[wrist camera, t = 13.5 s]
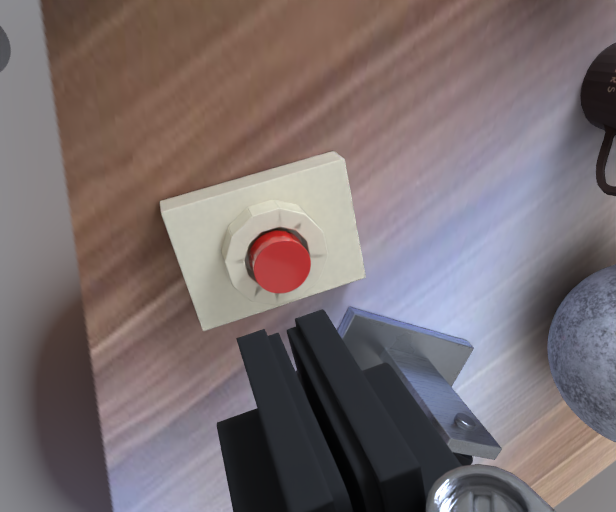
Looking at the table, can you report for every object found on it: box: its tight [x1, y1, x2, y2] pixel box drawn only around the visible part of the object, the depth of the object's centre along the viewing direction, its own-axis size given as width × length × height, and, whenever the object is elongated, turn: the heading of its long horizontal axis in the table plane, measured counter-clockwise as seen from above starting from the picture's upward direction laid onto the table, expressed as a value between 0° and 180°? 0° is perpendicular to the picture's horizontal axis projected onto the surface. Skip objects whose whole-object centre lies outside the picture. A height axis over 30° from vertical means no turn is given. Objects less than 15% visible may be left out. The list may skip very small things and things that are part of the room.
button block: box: [160, 151, 366, 331], centre depth 37 cm, size 12×9×4 cm
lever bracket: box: [337, 307, 502, 460], centre depth 42 cm, size 12×9×12 cm
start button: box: [249, 230, 311, 294], centre depth 35 cm, size 4×4×2 cm
